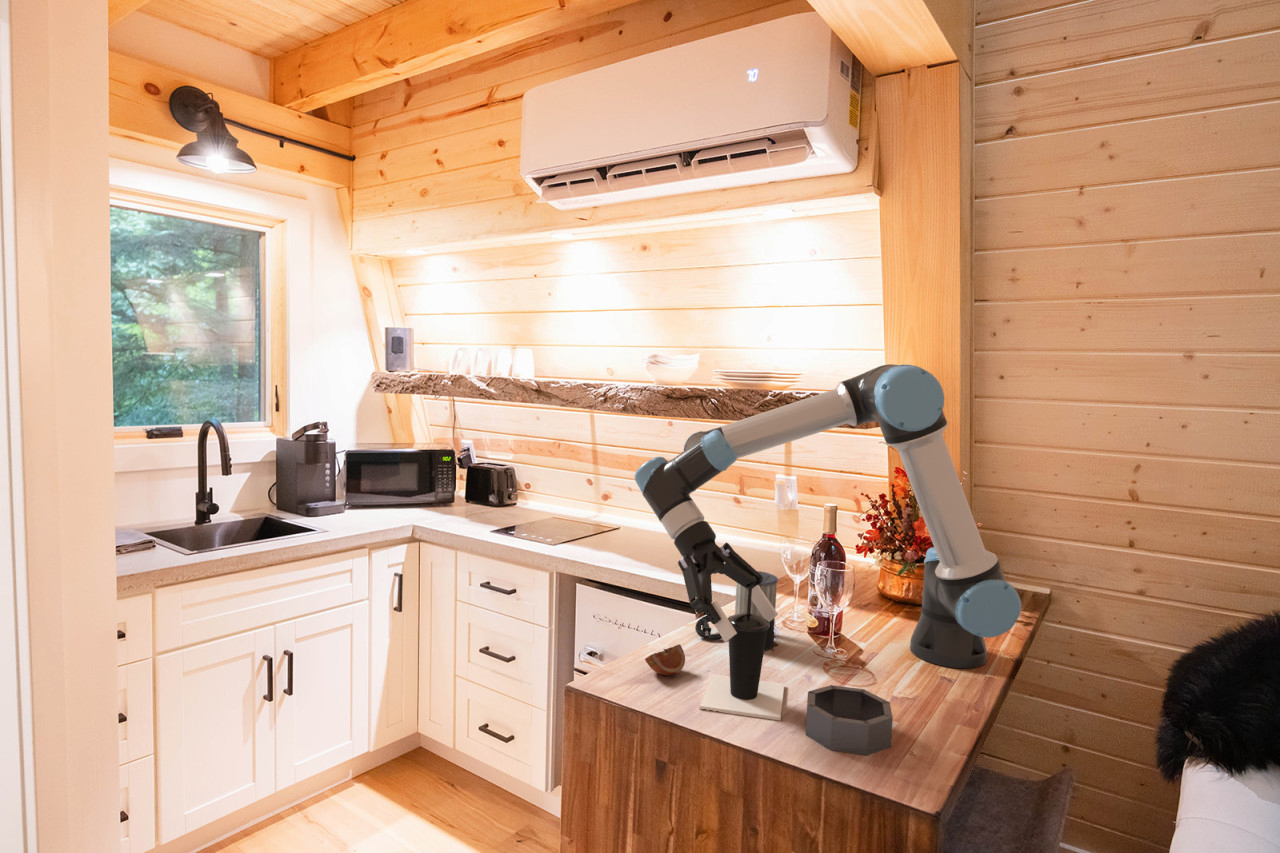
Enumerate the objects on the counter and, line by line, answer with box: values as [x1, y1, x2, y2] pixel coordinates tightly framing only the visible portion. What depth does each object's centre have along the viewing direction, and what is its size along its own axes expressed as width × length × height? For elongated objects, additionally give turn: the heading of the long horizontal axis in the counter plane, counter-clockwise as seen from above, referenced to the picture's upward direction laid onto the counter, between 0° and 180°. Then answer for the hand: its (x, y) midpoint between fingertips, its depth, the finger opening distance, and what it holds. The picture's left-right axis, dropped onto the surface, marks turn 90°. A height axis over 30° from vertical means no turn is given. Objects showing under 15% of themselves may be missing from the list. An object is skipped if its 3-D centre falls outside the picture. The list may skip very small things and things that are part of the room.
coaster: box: [699, 673, 785, 721], centre depth 141 cm, size 14×14×1 cm
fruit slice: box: [644, 644, 686, 676], centre depth 150 cm, size 8×7×5 cm
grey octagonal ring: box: [805, 684, 894, 756], centre depth 129 cm, size 13×13×5 cm
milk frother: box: [694, 570, 779, 651], centre depth 168 cm, size 14×16×15 cm
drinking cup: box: [727, 586, 770, 700], centre depth 140 cm, size 8×8×20 cm
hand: (752, 628), depth 138 cm, fingers open, 13 cm apart
